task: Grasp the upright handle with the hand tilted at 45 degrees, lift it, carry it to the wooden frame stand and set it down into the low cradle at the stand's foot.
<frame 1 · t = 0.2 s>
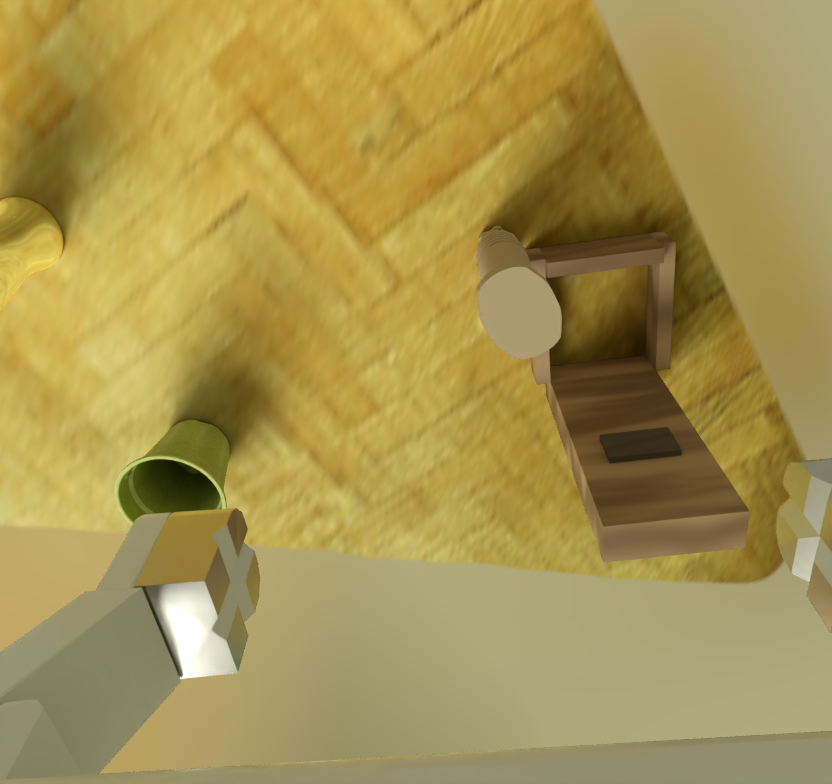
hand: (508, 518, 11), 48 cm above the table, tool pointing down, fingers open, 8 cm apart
handle: (495, 243, 57), on the table
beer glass: (27, 233, 57), on the table
wooden frame stand: (594, 299, 60), on the table
plant pot: (198, 444, 67), on the table
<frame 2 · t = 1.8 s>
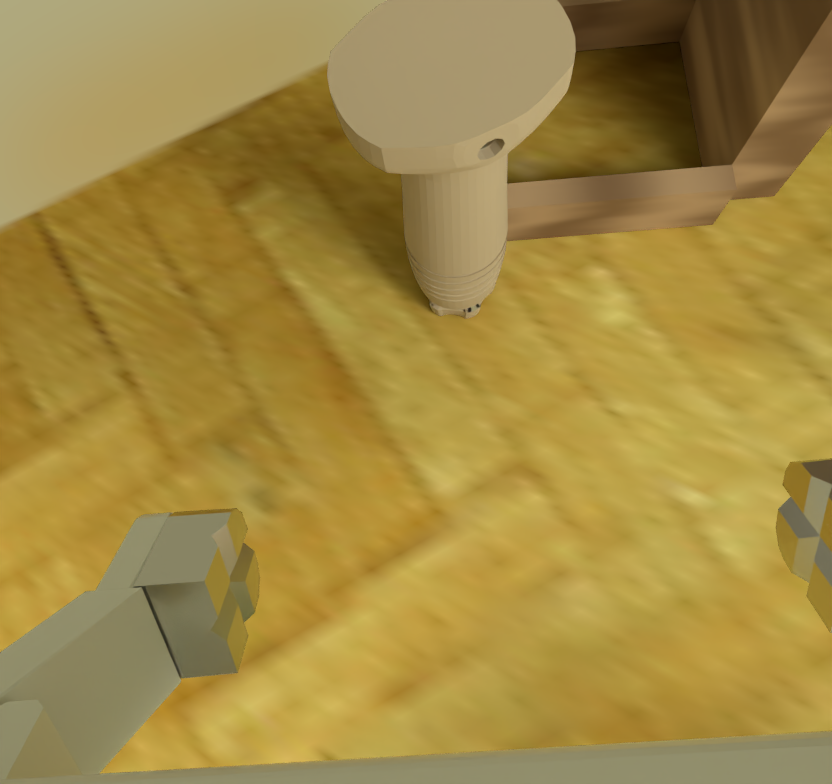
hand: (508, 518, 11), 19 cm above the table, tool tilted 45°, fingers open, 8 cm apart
handle: (457, 291, 32), on the table
wooden frame stand: (568, 129, 34), on the table
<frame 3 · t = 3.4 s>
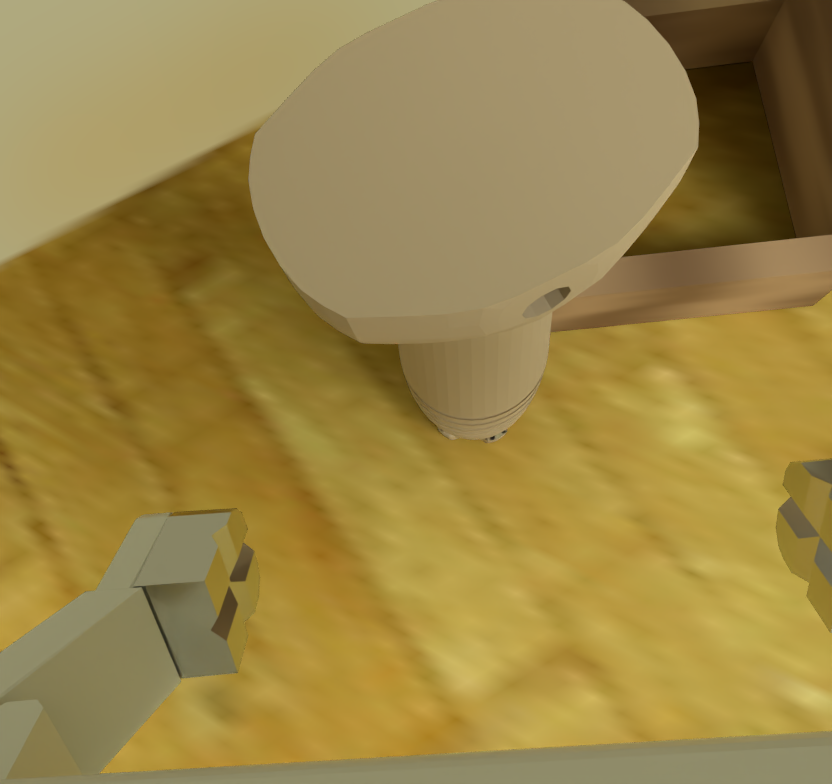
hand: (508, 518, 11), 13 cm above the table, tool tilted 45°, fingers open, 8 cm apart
handle: (474, 403, 24), on the table
wooden frame stand: (613, 181, 26), on the table
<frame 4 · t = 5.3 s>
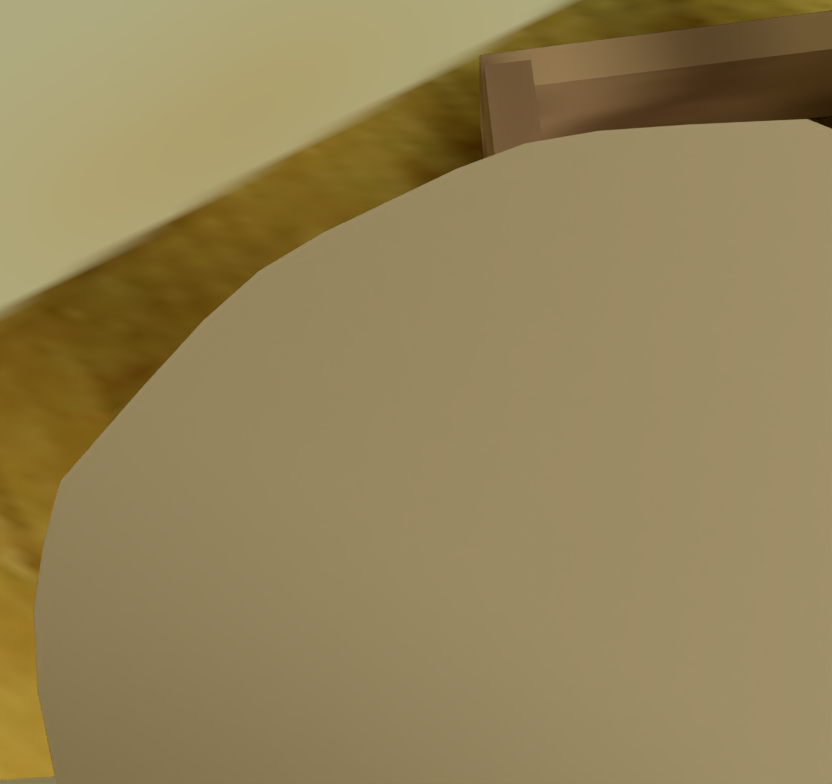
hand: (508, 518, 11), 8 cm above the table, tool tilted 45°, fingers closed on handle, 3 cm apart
handle: (499, 570, 19), on the table, touching gripper
wooden frame stand: (678, 270, 20), on the table
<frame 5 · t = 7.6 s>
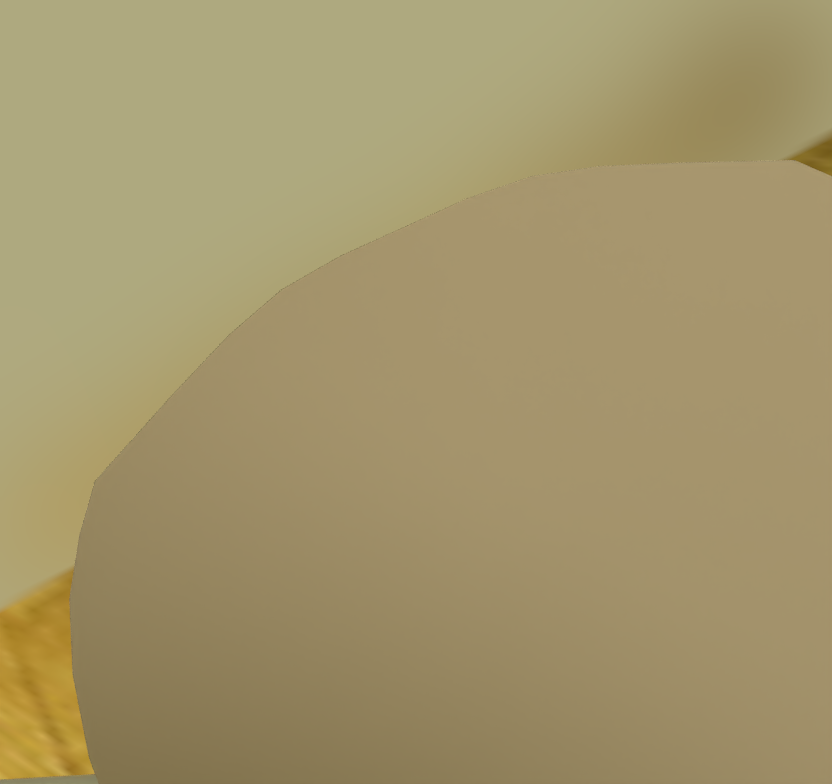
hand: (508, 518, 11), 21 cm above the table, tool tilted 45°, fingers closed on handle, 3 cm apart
handle: (499, 571, 19), point 12 cm above the table, touching gripper
when the fingers open (10 cm above the table, at t = 9.9 s): handle stays where it is, resting in wooden frame stand.
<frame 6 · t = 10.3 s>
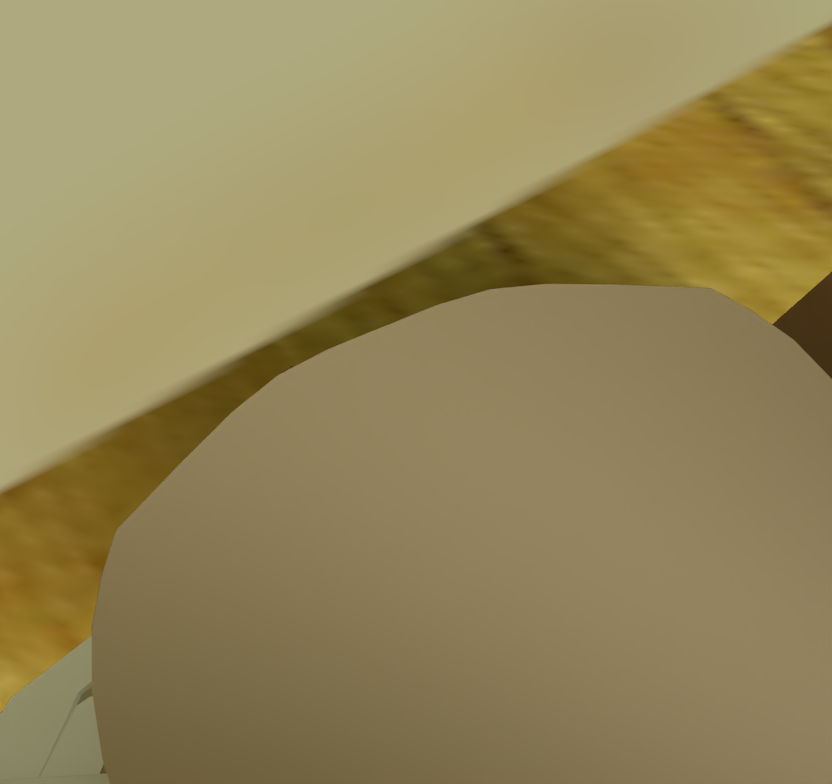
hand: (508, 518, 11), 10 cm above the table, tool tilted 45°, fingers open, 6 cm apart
handle: (486, 590, 20), resting in wooden frame stand
wooden frame stand: (501, 570, 20), on the table
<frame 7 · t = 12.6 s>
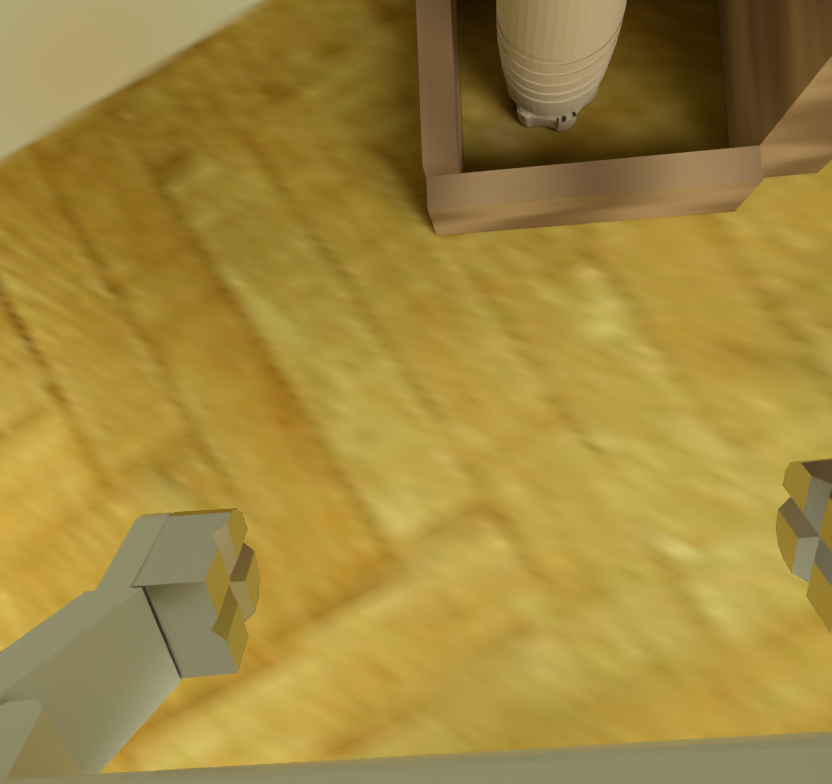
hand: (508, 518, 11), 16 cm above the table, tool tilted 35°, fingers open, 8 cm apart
handle: (550, 100, 28), resting in wooden frame stand
wooden frame stand: (562, 83, 27), on the table
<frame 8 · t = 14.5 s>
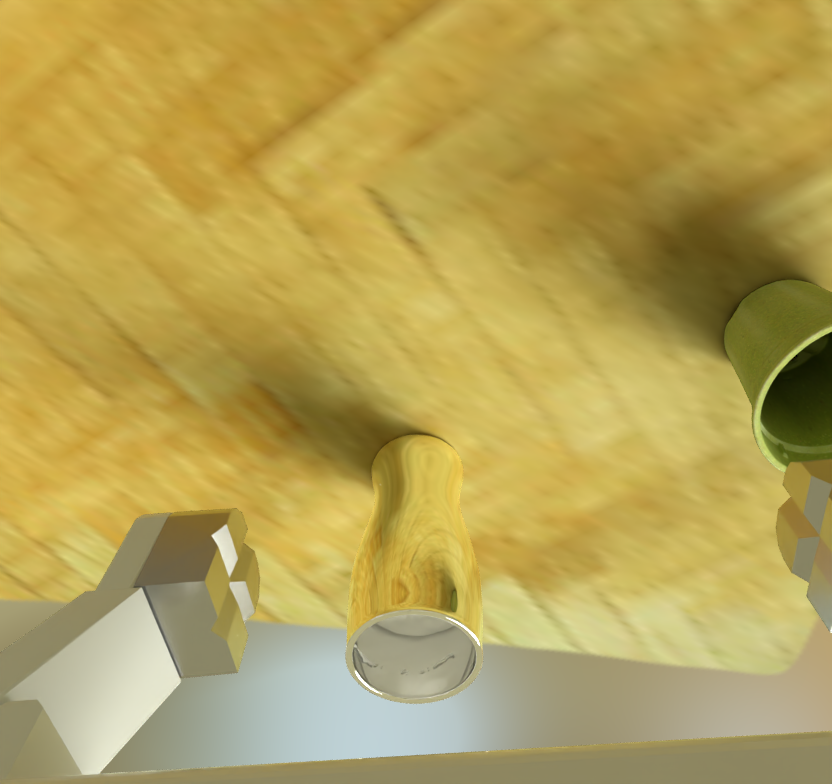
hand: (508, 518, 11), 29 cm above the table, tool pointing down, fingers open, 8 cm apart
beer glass: (417, 470, 46), on the table
plant pot: (774, 327, 41), on the table
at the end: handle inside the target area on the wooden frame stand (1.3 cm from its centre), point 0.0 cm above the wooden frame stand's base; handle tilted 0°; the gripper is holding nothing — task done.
